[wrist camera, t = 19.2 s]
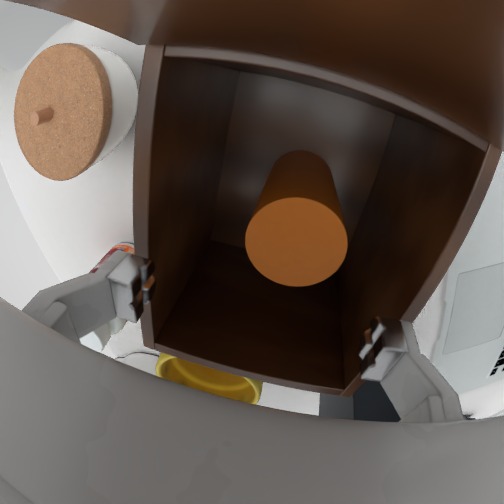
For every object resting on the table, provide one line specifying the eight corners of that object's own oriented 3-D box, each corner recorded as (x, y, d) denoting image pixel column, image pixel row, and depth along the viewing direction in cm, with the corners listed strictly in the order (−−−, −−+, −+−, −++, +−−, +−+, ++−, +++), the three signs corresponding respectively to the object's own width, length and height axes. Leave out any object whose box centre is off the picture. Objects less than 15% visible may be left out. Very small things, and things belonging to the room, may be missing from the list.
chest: (341, 275, 27) (350, 397, 16) (204, 240, 28) (143, 346, 17) (404, 108, 18) (505, 143, 7) (234, 60, 18) (146, 36, 7)
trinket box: (82, 161, 25) (17, 198, 17) (64, 68, 20) (-8, 81, 12) (168, 142, 23) (104, 177, 15) (151, 29, 17) (77, 16, 10)
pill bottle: (141, 235, 29) (79, 307, 19) (165, 282, 32) (119, 359, 22) (103, 246, 31) (44, 309, 21) (127, 287, 34) (80, 354, 24)
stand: (376, 362, 33) (381, 541, 13) (321, 352, 34) (303, 547, 14) (407, 321, 29) (436, 531, 9) (347, 307, 29) (346, 549, 9)
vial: (321, 216, 23) (327, 296, 15) (263, 200, 24) (236, 272, 15) (340, 160, 21) (363, 215, 12) (277, 142, 21) (256, 184, 12)
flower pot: (273, 287, 29) (258, 366, 21) (272, 350, 35) (260, 419, 27) (178, 279, 31) (140, 346, 23) (194, 341, 37) (169, 402, 28)
